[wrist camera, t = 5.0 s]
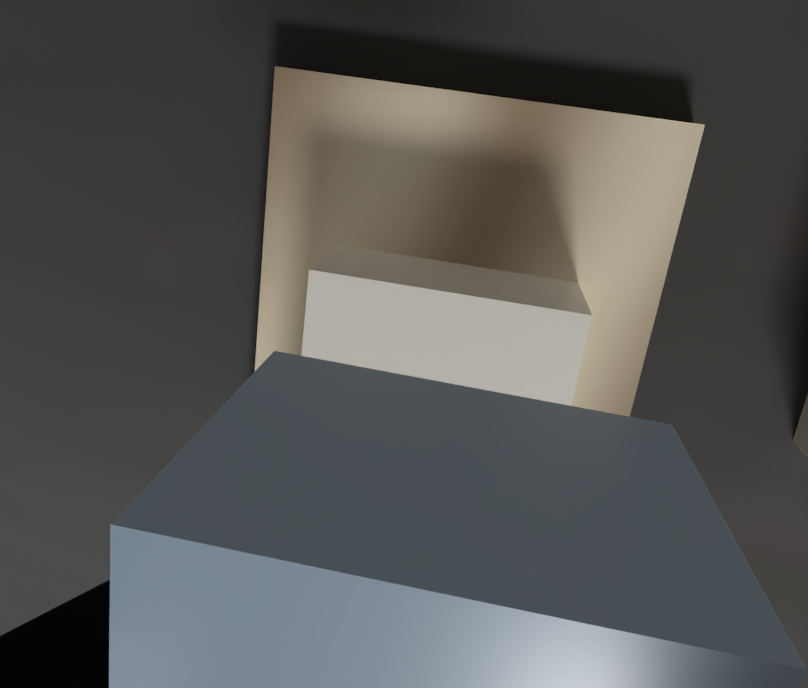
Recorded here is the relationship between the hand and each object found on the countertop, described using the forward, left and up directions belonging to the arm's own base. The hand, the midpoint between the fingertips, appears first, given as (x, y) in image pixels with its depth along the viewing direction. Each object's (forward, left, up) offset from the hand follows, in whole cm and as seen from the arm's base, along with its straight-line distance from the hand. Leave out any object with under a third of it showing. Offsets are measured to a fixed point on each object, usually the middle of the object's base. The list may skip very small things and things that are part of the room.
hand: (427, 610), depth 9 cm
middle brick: (0, 0, -1) cm, 1 cm away
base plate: (+1, +1, -11) cm, 11 cm away
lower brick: (+1, +1, -10) cm, 10 cm away
